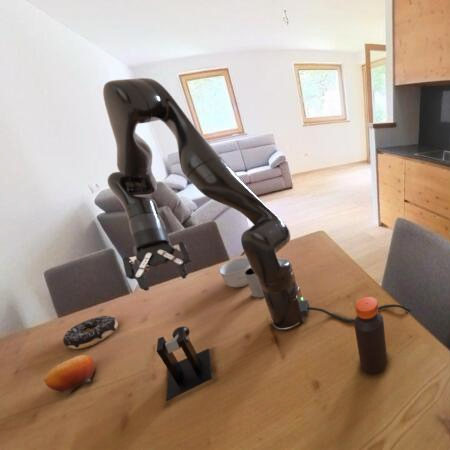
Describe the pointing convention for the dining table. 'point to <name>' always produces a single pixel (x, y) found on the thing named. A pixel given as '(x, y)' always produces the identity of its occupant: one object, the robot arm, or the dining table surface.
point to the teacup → (235, 272)
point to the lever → (175, 340)
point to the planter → (254, 283)
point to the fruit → (70, 374)
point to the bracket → (184, 366)
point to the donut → (90, 332)
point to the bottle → (370, 336)
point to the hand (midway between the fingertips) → (166, 283)
